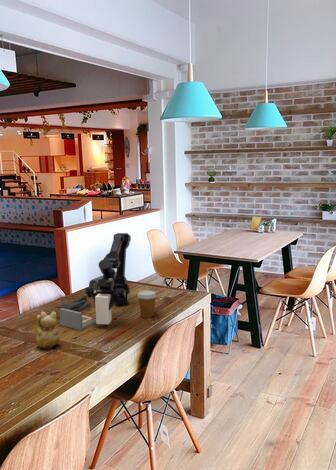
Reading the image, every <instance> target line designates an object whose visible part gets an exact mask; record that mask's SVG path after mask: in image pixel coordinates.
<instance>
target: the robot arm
mask: <svg viewBox="0 0 336 470" xmlns="http://www.w3.org/2000/svg"><path fill="white" fill-rule="evenodd" d="M131 238H132V237H131V234H129V232H128V233H127V232H120V233H119V232H117V233H115V234H113V240H112V243H111V247H110V250H109V252H108V253H107V254H106V255H105V256H104V257H103V259H101V260H100V261H99V262H98V268H99V270H100V273H101V274H102V276H103V278H102V279H98V286H99V289H100V290H95V288H90V287H89V286H88V287H86V288H85V291H84V293H85V296H86V297H87V298H91V299H93V302H94V304H95V297H96V296H97V294H111V300H110V304H109V310H110V309H111V310H112V308H113V306H114V305H115V306H116V307H122V306H123V307H124V306H128V305H129V303H128V302H129V301H128V300H129V299H128V295H130V294H131V290H130V285H129V283H128V279H127V278H126V276H125V275H126V261H127V260H126V259H127V249H128V248H129V247H130V243H131ZM115 269H116V271H115ZM116 272H117V273H116ZM115 273H116V276H115ZM94 308H95V307H94ZM95 310H96V308H95Z"/></svg>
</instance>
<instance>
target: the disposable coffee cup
mask: <svg viewBox="0 0 336 470" xmlns="http://www.w3.org/2000/svg"><path fill="white" fill-rule="evenodd" d="M136 296H137V298H138V302H139V310H140V316H141V317H142V318H151V317H154V316H153V315H155V306H156V305H155V303H156V298H157V293H156V291H154V290H151V289H143V290H139V291H138V293H137V295H136Z"/></svg>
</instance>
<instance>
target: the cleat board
mask: <svg viewBox="0 0 336 470" xmlns="http://www.w3.org/2000/svg"><path fill="white" fill-rule="evenodd" d="M59 324H60V326H63V327H66V328H70V329H75V330H78V331H82V330H84V329H86V328H88V327H90V326H92V325H94V324H95V325H96V319H94V318H93V317H91V316H87V315H83V312H82V311H81V312H77V311H72V310H68V309H64V308H61V309H59Z"/></svg>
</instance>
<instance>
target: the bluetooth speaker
mask: <svg viewBox="0 0 336 470" xmlns="http://www.w3.org/2000/svg"><path fill="white" fill-rule="evenodd" d="M115 272H116V273H117V271H115ZM116 273H115V276H116ZM102 278H103V275H101V276H97V277H95V278H93V279H90V280H89V283H88V287H90V288H95V290H100V289H99V286H98V279H102Z"/></svg>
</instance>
